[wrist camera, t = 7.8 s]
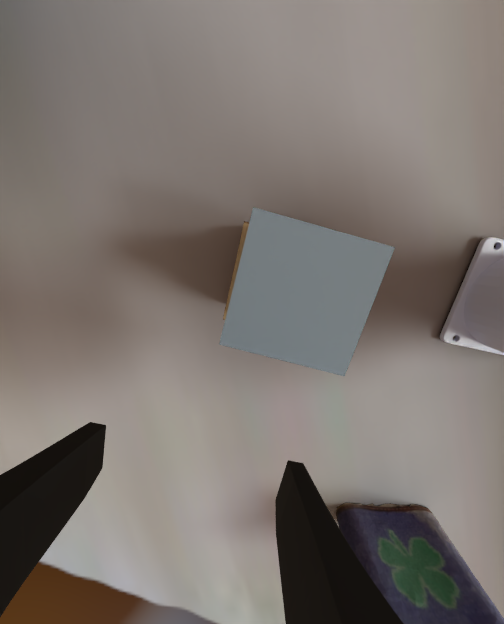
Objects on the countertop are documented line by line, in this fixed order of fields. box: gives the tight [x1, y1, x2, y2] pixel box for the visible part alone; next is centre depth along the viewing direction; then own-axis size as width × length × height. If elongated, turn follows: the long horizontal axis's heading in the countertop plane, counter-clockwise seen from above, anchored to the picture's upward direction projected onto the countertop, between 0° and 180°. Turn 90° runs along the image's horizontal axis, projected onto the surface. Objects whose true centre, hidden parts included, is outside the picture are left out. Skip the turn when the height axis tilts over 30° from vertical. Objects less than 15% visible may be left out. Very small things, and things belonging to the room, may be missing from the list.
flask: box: [336, 503, 504, 624], centre depth 18 cm, size 9×3×11 cm, turn 89°
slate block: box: [219, 207, 395, 376], centre depth 11 cm, size 5×5×5 cm
